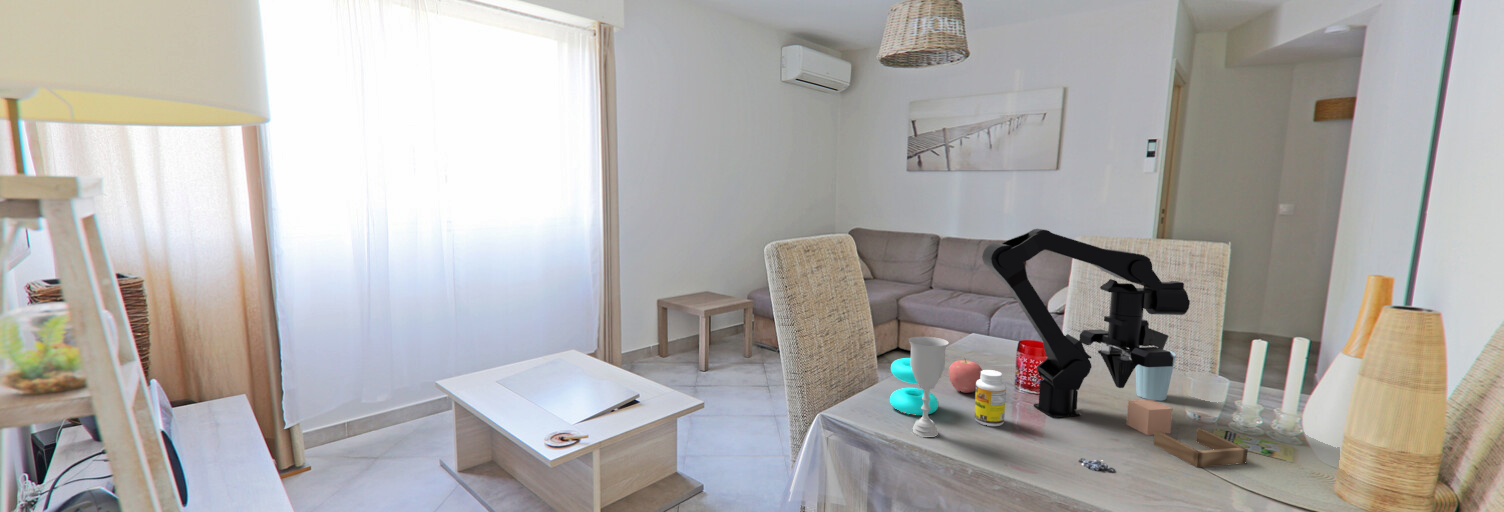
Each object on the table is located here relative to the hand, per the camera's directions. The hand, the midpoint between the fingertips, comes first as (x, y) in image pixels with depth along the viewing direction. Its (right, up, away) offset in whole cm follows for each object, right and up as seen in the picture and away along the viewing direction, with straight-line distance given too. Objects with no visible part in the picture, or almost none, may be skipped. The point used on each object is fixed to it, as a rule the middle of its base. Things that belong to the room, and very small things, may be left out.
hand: (1119, 387), depth 120 cm
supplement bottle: (-29, -6, -3) cm, 29 cm away
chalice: (-43, -7, -9) cm, 44 cm away
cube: (+1, -7, -7) cm, 9 cm away
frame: (+3, -8, -17) cm, 19 cm away
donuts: (-42, -6, +4) cm, 42 cm away
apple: (-27, -4, +14) cm, 31 cm away
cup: (+14, -5, +11) cm, 18 cm away
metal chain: (-18, -9, -22) cm, 30 cm away
